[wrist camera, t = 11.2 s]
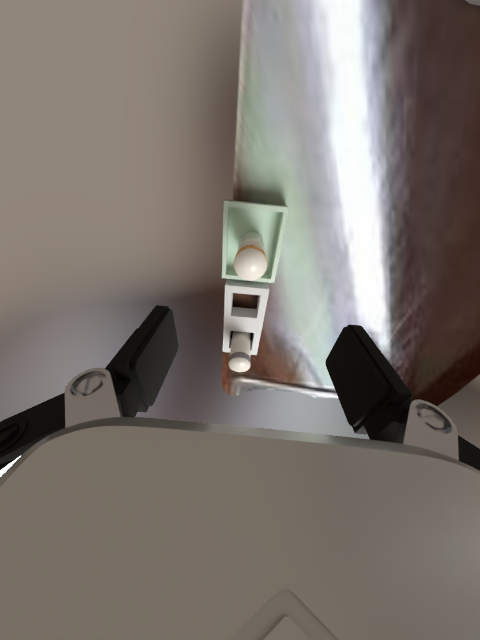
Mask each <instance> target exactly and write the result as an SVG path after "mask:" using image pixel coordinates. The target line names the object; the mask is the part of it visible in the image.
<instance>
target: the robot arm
mask: <svg viewBox="0 0 480 640" xmlns="http://www.w3.org/2000/svg"><path fill="white" fill-rule="evenodd" d="M466 1H467V2H468V3H470V4H474V5H479V6H480V0H466ZM177 350H178V341H177V335H176V329H175V323H174V317H173V312H172V310H171V309H169V307H167V306H159V305H158V306H155V308H154V309H153V310H152V312H151V313H150V314H149V315H148V317H147V318H146V319H145V321H144V322H143V323H142V324H141V326H140V327H139V328H138V329H136V330H135V331H134V333H133V334H132V335H131V336H130V338H129V339H128V340H127V341H126V343H125V344H124V345H123V346H122V348H121V349H120V350H119V352H118V353H117V354H116V355H115V357H114V358H113V359H112V360H111V362H110V363H109V364H108V365H107V367H106V368H105V369H104V368H93V369H89V370H86V371H85V372H82V373H80V374H78V375H77V376H75V377H74V378H73V379H72V380H71V381H70V382H69V383H68V385H67V386H66V389H65V393H63V394H61V395H58V396H56V397H54V398H52V399H50V400H47V401H45V402H43V403H41V404H38V405H36V406H34V407H32V408H30V409H27V410H25V411H23V412H21V413H18V414H16V415H14V416H12V417H10V418H7V419H5V420H3V421H1V422H0V640H480V449H479V448H477V447H476V446H474V445H473V444H471V443H469V442H468V441H466V440H465V439H463V438H462V437H460V436H458V431H457V428H456V426H455V424H454V422H453V421H452V420H451V418H449V416H448V415H447V414H446V413H444V412H443V411H442V410H441V409H439V408H438V407H436V406H435V405H433V404H431V403H429V402H426V401H423V400H414V401H412V400H411V399H410V396H412V393H411V392H410V390H409V389H408V388H407V386H406V385H405V384H404V382H403V381H402V380H401V378H400V377H399V376H398V374H397V373H396V372H395V370H394V369H393V368H392V366H391V365H390V364H389V362H388V361H387V359H386V358H385V357H384V355H383V354H382V353H381V351H380V350H379V349H378V347H377V346H376V345H375V343H374V342H373V341H372V339H371V338H370V337H369V335H368V334H367V332H366V331H365V330H364V328H363V327H362V326H358V325H348V326H347V327H344V328H343V330H342V332H341V333H340V335H339V337H338V339H337V341H336V343H335V344H334V346H333V348H332V350H331V352H330V354H329V356H328V357H327V359H326V367H327V369H328V372H329V375H330V377H331V380H332V382H333V385H334V387H335V390H336V393H337V395H338V398H339V400H340V403H341V405H342V408H343V410H344V413H345V415H346V418H347V421H348V423H349V424H350V425H351V426H352V427H353V430H354V432H355V433H358V434H368V436H369V438H370V439H369V440H368V439H359V438H351V437H341V436H331V435H322V434H312V433H303V432H293V431H283V430H273V429H263V428H253V427H243V426H233V425H222V424H212V423H202V422H191V421H180V420H168V419H155V418H141V417H135V416H136V413H137V412H147V410H148V407H149V406H152V405H153V404H154V402H155V399H156V397H157V395H158V393H159V390H160V388H161V386H162V384H163V382H164V379H165V377H166V375H167V373H168V370H169V368H170V366H171V363H172V361H173V359H174V357H175V355H176V353H177Z"/></svg>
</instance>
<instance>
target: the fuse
mask: <svg viewBox="0 0 480 640" xmlns="http://www.w3.org/2000/svg"><path fill="white" fill-rule="evenodd" d="M250 365H251V359H250V333H249V332H238V331H233V335H232V343H231V351H230V357H229V367H230V368H231V369H232V370H233V371H236V372H244V371H247V370H248V369H249V368H250Z"/></svg>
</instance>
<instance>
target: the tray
mask: <svg viewBox="0 0 480 640" xmlns="http://www.w3.org/2000/svg"><path fill="white" fill-rule="evenodd" d="M223 209H224V210H223V250H222V251H223V252H222V278H226V279H236V280H244V279H242V278H241V277H239V276H238V275H237V273H236V272H235V269H234V260H235V256H236V254H237V250H238V246H239V242H240V239H241V237H242V235H243V234H245V233H246V232H248V231H255V232H258V233H259V234H260V235H261V236H262V238H263V241H264V248H265V254H266V258H267V269H266V272H265V273H264V275H263V276H262V277H260V278H259V279H257V280H253V281H257V282H267V283H274V281H275V276H276V271H277V266H278V261H279V256H280V251H281V246H282V242H283V237H284V232H285V227H286V222H287V217H288V212H289V207H288V206H285V205H275V204H265V203H255V202H245V201H235V200H224V208H223ZM247 281H248V280H247Z"/></svg>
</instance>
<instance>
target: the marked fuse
mask: <svg viewBox="0 0 480 640" xmlns="http://www.w3.org/2000/svg"><path fill="white" fill-rule="evenodd" d="M234 269H235V272H236V273H237V275H238V276H239V277H241V278H242V279H244V280H248V281H253V280H257V279H259V278H260V277H262V276H263V275H264V273H265V272H266V269H267V258H266V254H265V248H264V241H263V238H262V236H261V235H260V234H259V233H258V232H255V231H248V232H246V233H245V234H243V235H242V237H241V239H240V242H239V246H238V250H237V254H236V256H235V260H234Z"/></svg>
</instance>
